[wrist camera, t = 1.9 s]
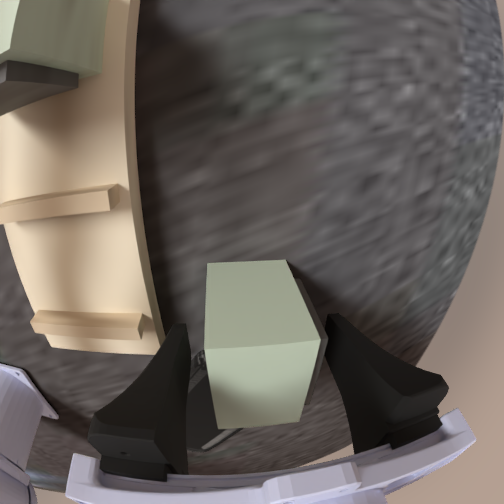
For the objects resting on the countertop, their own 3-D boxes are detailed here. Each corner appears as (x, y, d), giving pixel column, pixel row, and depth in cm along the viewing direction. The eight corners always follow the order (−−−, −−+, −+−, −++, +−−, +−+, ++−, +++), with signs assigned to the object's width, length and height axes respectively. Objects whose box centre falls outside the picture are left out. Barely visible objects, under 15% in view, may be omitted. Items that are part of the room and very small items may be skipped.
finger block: (215, 346, 17) (218, 429, 12) (207, 262, 14) (204, 348, 9) (287, 341, 17) (310, 419, 12) (296, 258, 15) (336, 337, 9)
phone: (300, 385, 19) (203, 454, 23) (297, 373, 20) (203, 445, 24) (204, 351, 16) (131, 434, 20) (204, 338, 17) (132, 425, 21)
